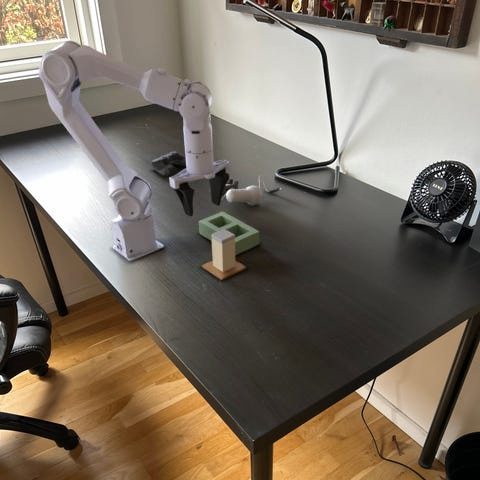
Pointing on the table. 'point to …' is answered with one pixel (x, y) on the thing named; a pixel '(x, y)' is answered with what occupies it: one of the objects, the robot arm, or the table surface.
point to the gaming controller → (167, 162)
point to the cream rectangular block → (223, 250)
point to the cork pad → (226, 273)
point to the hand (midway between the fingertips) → (202, 209)
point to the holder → (230, 230)
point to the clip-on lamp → (244, 192)
